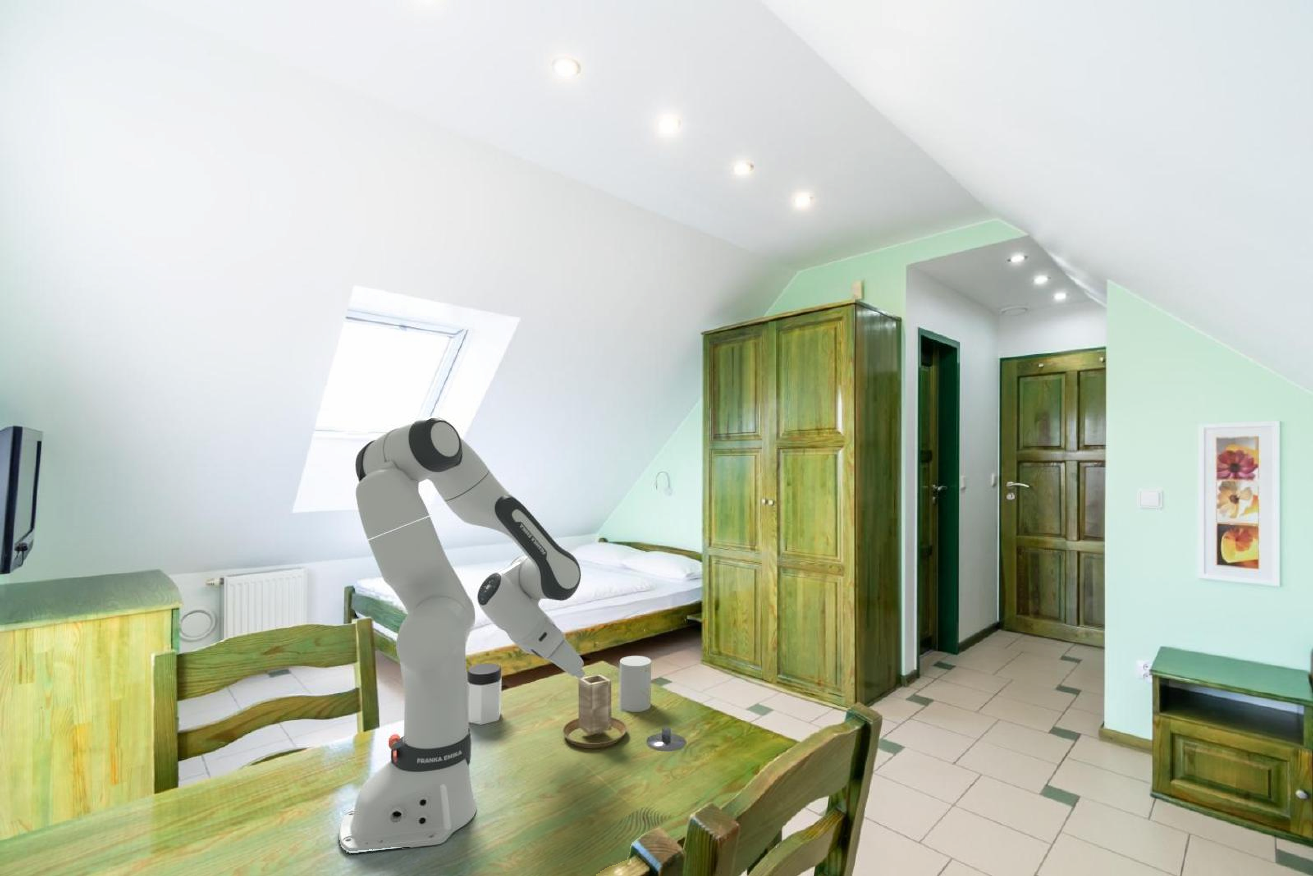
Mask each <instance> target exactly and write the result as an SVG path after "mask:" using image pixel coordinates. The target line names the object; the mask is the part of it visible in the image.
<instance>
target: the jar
mask: <svg viewBox="0 0 1313 876" xmlns="http://www.w3.org/2000/svg"><path fill="white" fill-rule="evenodd" d="M502 678H503V677H502V666H501V665H500V664H496V663H490V662H489V663H479V664H475V665H472V666H470V667H469V668H468V669H467V680H468V685H469V723H470V724H476V725H481V726H483V725H486V724H489V723H494V722H497V721H500V717H501V713H502V681H503V680H502Z"/></svg>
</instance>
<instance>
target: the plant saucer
mask: <svg viewBox="0 0 1313 876" xmlns="http://www.w3.org/2000/svg"><path fill="white" fill-rule="evenodd" d="M611 723H612V729H613V728H614V729H616V730H617V731H619V734H620V736H619V737H617V738H615V739H611V740H608V741H604V742H581V741H577V740H575V739H572V738H570V737H569V735H570V734H571V732H573V731H575V729H578V728H579V717H577V718H574V719H572V720H570V721H568V722H567V723H565V724H564V726H563V727H562V734H563V736H564V737H565V738H566V740H567V741H568V742H569V743H570V744H571V745H574V746H575V747H578V748H579V747H580V748H585V749H600V748H606V747H611V746H612V745H615V744H616V743H618V742H620V741H621V739H622V738H623V737H624V736H625V734H626V733H627V730H628V727H627V725H626V724H625V721H622V720H620V719H619V718H616V717H613V716H611Z"/></svg>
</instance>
